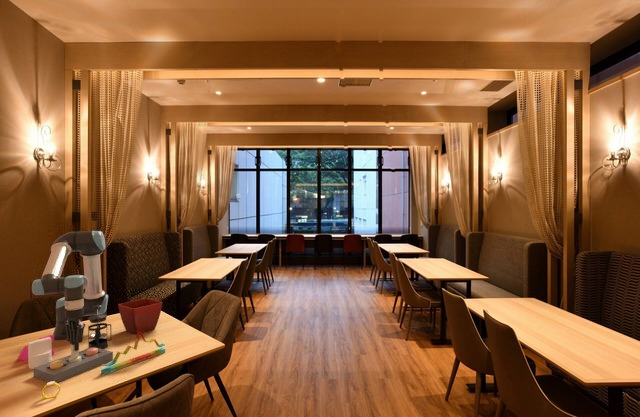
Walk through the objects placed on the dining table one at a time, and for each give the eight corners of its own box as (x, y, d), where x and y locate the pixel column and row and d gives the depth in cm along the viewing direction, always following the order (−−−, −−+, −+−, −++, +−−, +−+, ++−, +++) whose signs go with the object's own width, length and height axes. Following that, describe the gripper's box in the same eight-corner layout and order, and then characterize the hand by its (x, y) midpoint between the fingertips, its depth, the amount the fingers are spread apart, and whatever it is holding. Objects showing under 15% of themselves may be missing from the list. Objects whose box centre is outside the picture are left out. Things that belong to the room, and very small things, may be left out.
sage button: (66, 365, 170) (66, 359, 170) (77, 361, 174) (77, 355, 174) (72, 367, 168) (72, 360, 167) (83, 363, 172) (83, 356, 172)
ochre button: (47, 370, 162) (47, 363, 162) (59, 365, 167) (59, 359, 167) (53, 372, 160) (53, 365, 160) (65, 367, 165) (65, 361, 165)
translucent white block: (33, 370, 169) (32, 345, 169) (25, 366, 174) (24, 341, 174) (55, 363, 177) (54, 339, 176) (47, 359, 181) (46, 335, 181)
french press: (85, 352, 189) (84, 309, 189) (87, 346, 198) (86, 305, 198) (111, 348, 195) (110, 306, 195) (111, 342, 203) (111, 302, 203)
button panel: (33, 376, 162) (33, 368, 162) (93, 354, 186) (93, 346, 186) (53, 384, 155) (53, 374, 155) (112, 359, 180) (112, 351, 179)
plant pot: (147, 322, 237) (147, 297, 237) (163, 328, 226) (163, 301, 226) (117, 331, 222) (117, 304, 222) (133, 337, 211) (132, 309, 211)
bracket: (54, 354, 187) (53, 335, 187) (31, 362, 177) (31, 342, 177) (40, 351, 192) (40, 332, 192) (17, 358, 182) (17, 338, 182)
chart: (104, 375, 163) (103, 343, 163) (101, 373, 165) (100, 341, 165) (165, 352, 188) (165, 324, 188) (162, 351, 190) (161, 323, 190)
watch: (41, 401, 142) (40, 386, 142) (43, 398, 144) (41, 383, 144) (60, 396, 145) (58, 381, 145) (61, 393, 147) (59, 379, 147)
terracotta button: (83, 356, 177) (83, 350, 177) (93, 353, 181) (93, 347, 181) (90, 358, 175) (89, 352, 175) (100, 354, 179) (100, 348, 179)
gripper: (58, 308, 170) (58, 357, 170) (74, 311, 165) (74, 362, 165) (74, 304, 177) (75, 351, 177) (90, 307, 171) (91, 356, 171)
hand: (75, 356), depth 171 cm, fingers closed
